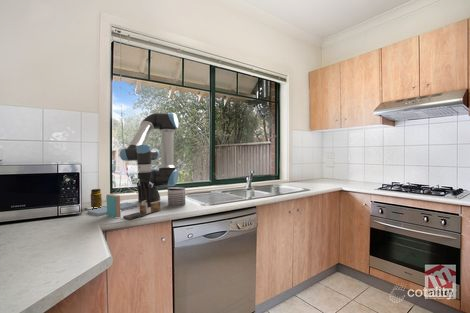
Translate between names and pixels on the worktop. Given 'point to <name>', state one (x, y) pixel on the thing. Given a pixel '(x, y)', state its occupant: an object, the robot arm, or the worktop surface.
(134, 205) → the board
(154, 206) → the turner
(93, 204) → the condiment
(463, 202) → the worktop surface
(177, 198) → the can
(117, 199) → the tile
